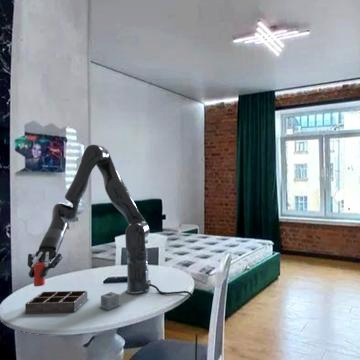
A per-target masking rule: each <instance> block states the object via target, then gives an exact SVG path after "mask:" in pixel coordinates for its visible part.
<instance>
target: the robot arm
mask: <svg viewBox="0 0 360 360" xmlns="http://www.w3.org/2000/svg"><path fill="white" fill-rule="evenodd" d="M95 167H97V168H98V170H99V172H100V173H101V176H102V180H103V186H104V191H105V193H106V195H107V197H108V199H109V201H110V202H111V204H112V205H113V206H114V207H115V208H116V209H117V210H118V211H119V213H121V214H122V215H123V217H124V219H125V220H126V222H127V224H128V225H127V227H126V229H125V235H124V236H125V250H126V255H127V257H126V259H127V261H126V262H127V263H126V266H127V268H126V270H127V271H126V272H127V276H126V277H127V279H126V286H127V287H126V292H127V293H128V294H131V295H138V294H143V293H147V291H148V290H149V289H150V288H151V287H152V288H154V289H155V290H156V291H157V292H158V293H159V294H161V295H179V294H187V295H190V296H191V297H194V295H193V293H192V292H190V291H188V290H180V291H169V292H168V291H167V292H166V291H161V290H160V289H159V288H158V286H156V285H154V284H152V280H151V279H149V268H148V251H149V250H148V247H146V238H148V236H149V235H150V226H149V224H148V222H147V221H146V220H145V218H144V217H143V215H142V214H141V212H140V210H139V209H138V207H137V205H136V203H135V201H134V200H133V197H132V195H131V194H130V192H129V190H128V188H127V186H126V184H125V182H124V180H123V179H122V178H121V175H120V173H119V172H118V170H117V168H116V167H115V164H114V161H113V160H112V157H111V154H110V152H109V150H108V149H107V148H106V147H105V146H102V145H98V144H89V145H88V146H86V148H84V150H83V153H82V156H81V159H80V162H79V165H78V168H77V171H76V173H75V175H74V177H73V180H72V181H71V183H70V185H69V187H68V189H67V191H66V193H65V195H64V199H65V200H66V201H68V202H69V203H71V204H72V205H69V204H67V203H64V202H57V203H56V204H55V205H54V206H53V207H52V212H51V213H52V214H51V221H50V224H49V226H48V229H47V230H46V232H45V234H44V236H43V238H42V239H41V242H40V244H39V246H38V250H37V251H36V252H35V253H33V254H32V253H28V254H27V266H28V268H29V269H30V270H29V272H28V277H29V278H30V279H34V263H38V262H45V267H44V268H43V270H42V273H41V275H40V276H41V277H42V278H44V277H45V278H46V277H47V275H48V273H49V271H50V269H55V268H56V267H57V266H58V265H59V263H60V262H61V261H62V259H63V258H64V257H63V255H62V253H58V252H59V250H60V248H61V245H62V243H63V240H64V238H65V234H66V232H67V229H68V227H69V225H68V222H72V221H74V220H75V219H76V218H77V216H78V211H79V206H80V203H81V201H82V199H83V196H84V195H85V193H86V191H87V189H88V185H89V179H90V176H91V174H92V171H93V170H94V169H95ZM194 341H195V343H194V347H195V348H194V360H198V333H195V339H194Z"/></svg>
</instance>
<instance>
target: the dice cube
mask: <svg viewBox="0 0 360 360" xmlns="http://www.w3.org/2000/svg"><path fill="white" fill-rule="evenodd" d="M119 306H120V294H119V293H116V292H113V291H110V292H108V293H105V294H102V295H100V308H101V309H104V310H106V311H111V310H113V309H115V308H117V307H119Z"/></svg>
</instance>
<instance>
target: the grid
mask: <svg viewBox="0 0 360 360" xmlns="http://www.w3.org/2000/svg"><path fill="white" fill-rule="evenodd" d="M87 300H88V290H64V291H63V290H62V291H61V290H60V291H57V290H56V291H42V292H40V293H39V294H38V295H36V296H35V297H33V298H31V299H30V300H29V301H27V302H26V303H25V304H24V305H25V314H54V313H55V314H56V313H57V314H58V313H59V314H60V313H61V314H62V313H75V312H77V310H78V309H79V308H80V307H82V305H83V304H85V302H87Z"/></svg>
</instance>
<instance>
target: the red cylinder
mask: <svg viewBox="0 0 360 360" xmlns="http://www.w3.org/2000/svg"><path fill="white" fill-rule="evenodd" d="M33 263H34V262H33ZM44 267H45V262H38V263H34V277H33V287H41V286H42V287H43V286H45V284H46V276H45V277H44V278H42V277H41V276H40V275H41V273H42V270H43V268H44Z"/></svg>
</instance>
